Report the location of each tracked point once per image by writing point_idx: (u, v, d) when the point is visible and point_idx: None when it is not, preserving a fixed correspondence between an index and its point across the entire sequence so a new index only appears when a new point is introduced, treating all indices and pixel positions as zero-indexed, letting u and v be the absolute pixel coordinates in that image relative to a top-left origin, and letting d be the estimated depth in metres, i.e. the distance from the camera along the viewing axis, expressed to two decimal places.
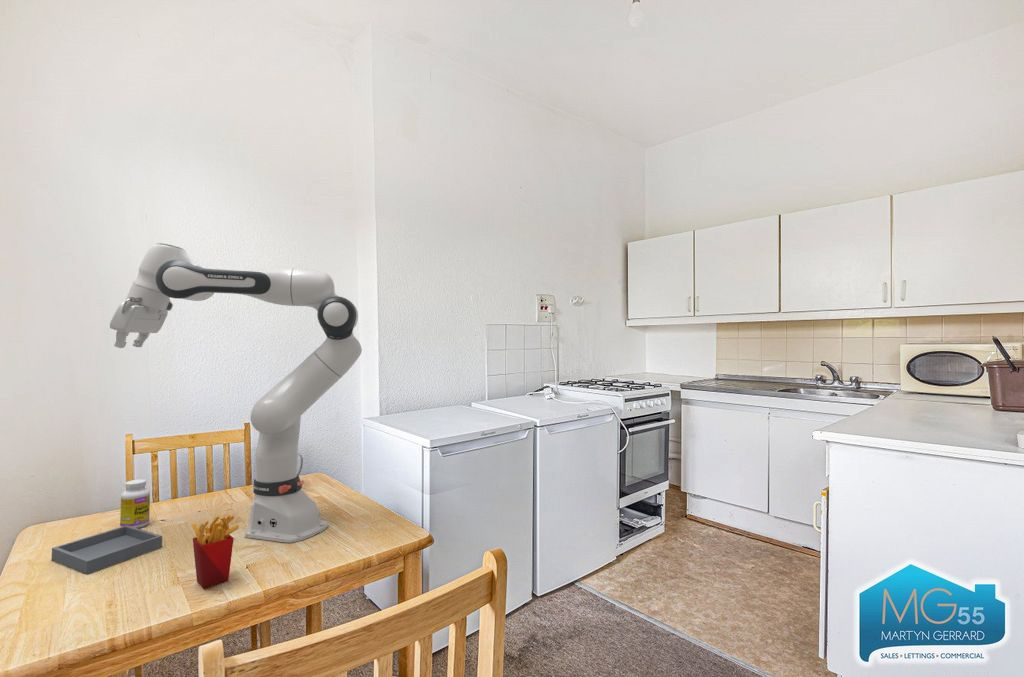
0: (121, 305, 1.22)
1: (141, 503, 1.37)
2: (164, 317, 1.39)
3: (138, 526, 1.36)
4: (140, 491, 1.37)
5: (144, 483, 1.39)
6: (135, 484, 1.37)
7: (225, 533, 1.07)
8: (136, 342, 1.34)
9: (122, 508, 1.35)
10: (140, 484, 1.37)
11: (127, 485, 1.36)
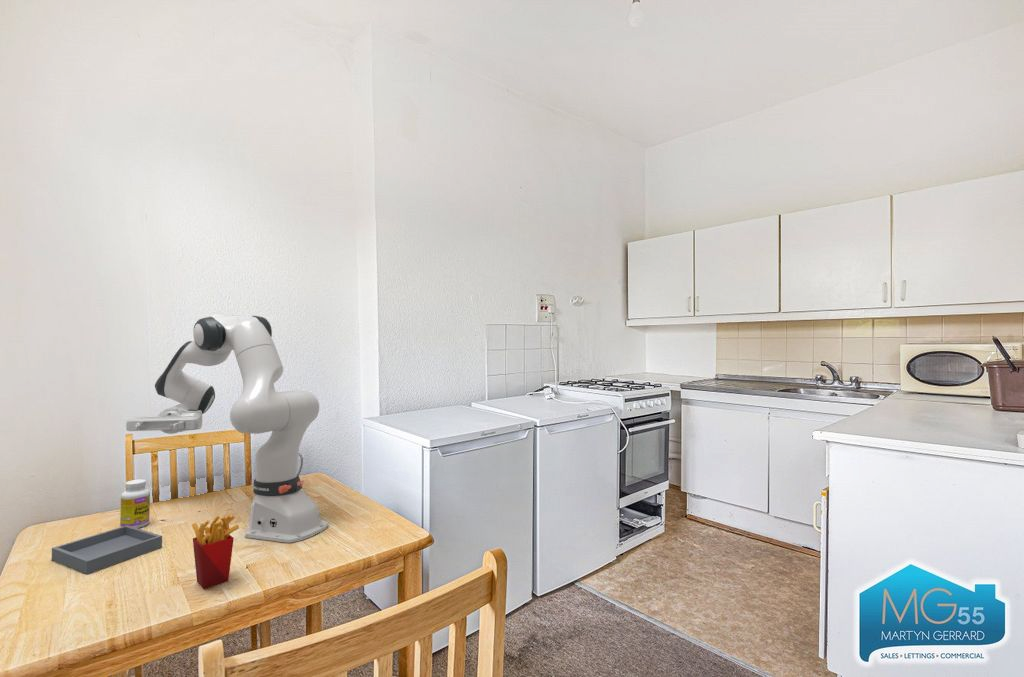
0: None
1: (141, 503, 1.37)
2: (196, 414, 1.62)
3: (138, 526, 1.36)
4: (140, 491, 1.37)
5: (144, 483, 1.39)
6: (135, 484, 1.37)
7: (225, 533, 1.07)
8: None
9: (122, 508, 1.35)
10: (140, 484, 1.37)
11: (127, 485, 1.36)
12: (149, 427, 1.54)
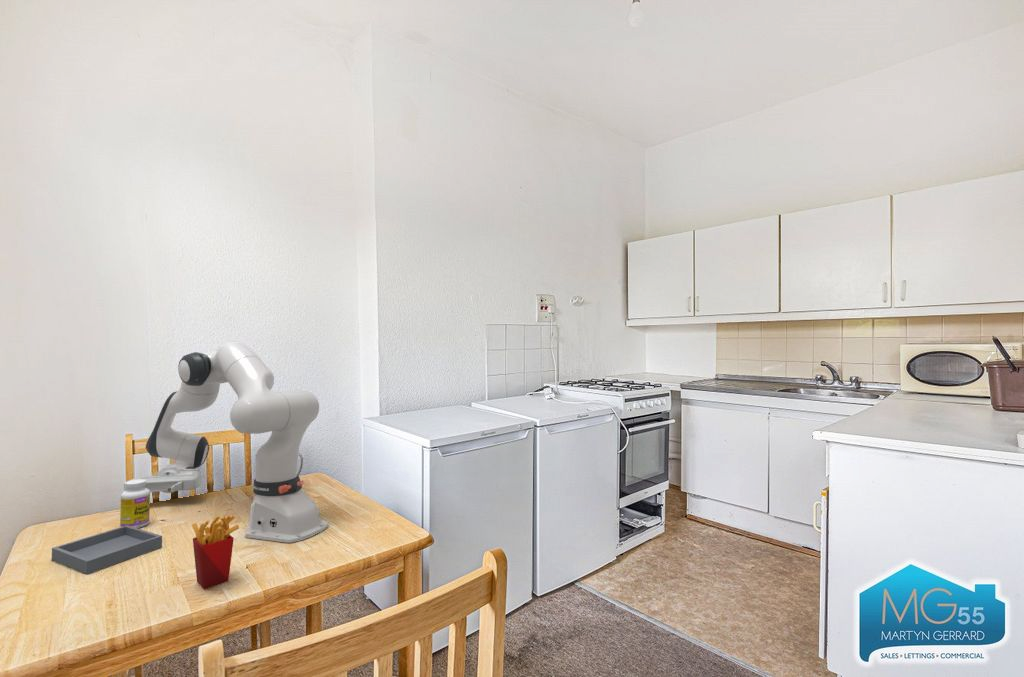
0: None
1: (141, 503, 1.37)
2: (195, 473, 1.60)
3: (138, 526, 1.36)
4: (140, 491, 1.37)
5: (144, 483, 1.39)
6: (135, 484, 1.37)
7: (225, 533, 1.07)
8: None
9: (122, 508, 1.35)
10: (140, 484, 1.37)
11: (127, 485, 1.36)
12: None
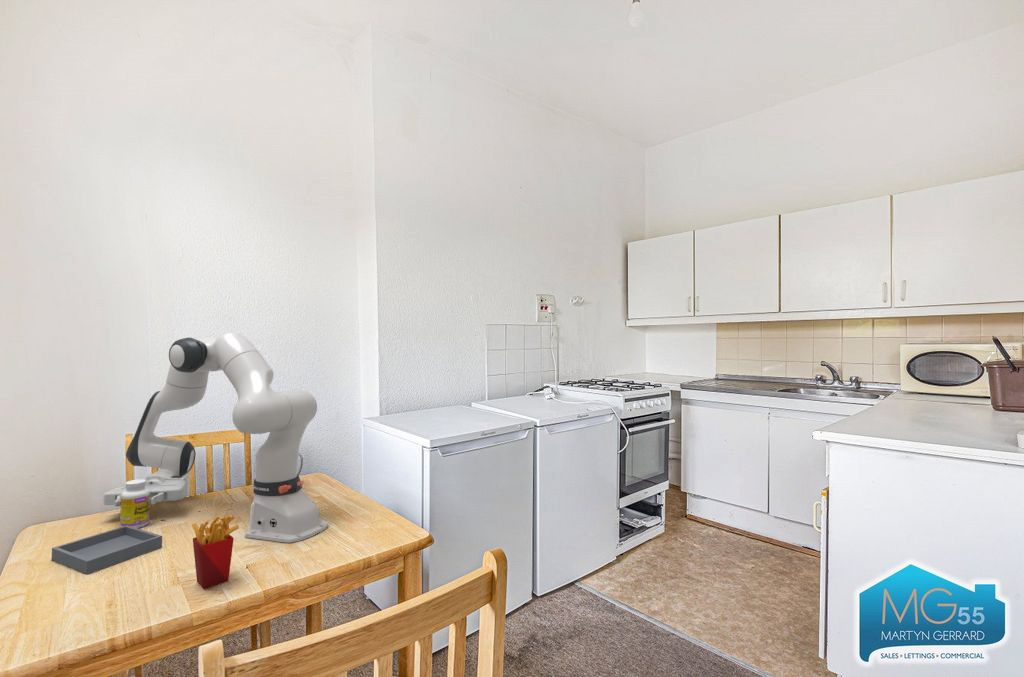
0: None
1: (141, 503, 1.37)
2: (180, 482, 1.49)
3: (138, 526, 1.36)
4: (140, 491, 1.37)
5: (144, 483, 1.39)
6: (135, 484, 1.37)
7: (225, 533, 1.07)
8: None
9: (122, 508, 1.35)
10: (140, 484, 1.37)
11: (127, 485, 1.36)
12: None
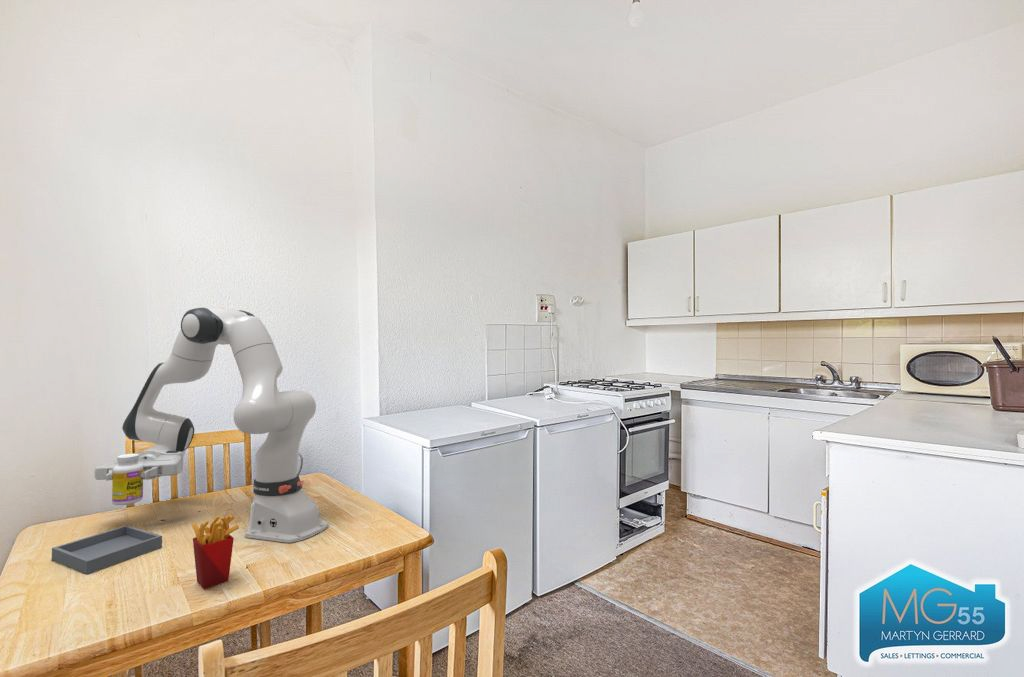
0: None
1: (134, 478, 1.30)
2: (176, 457, 1.42)
3: (131, 502, 1.30)
4: (133, 465, 1.31)
5: (137, 457, 1.32)
6: (127, 458, 1.30)
7: (225, 533, 1.07)
8: None
9: (114, 483, 1.29)
10: (132, 458, 1.31)
11: (119, 459, 1.30)
12: None
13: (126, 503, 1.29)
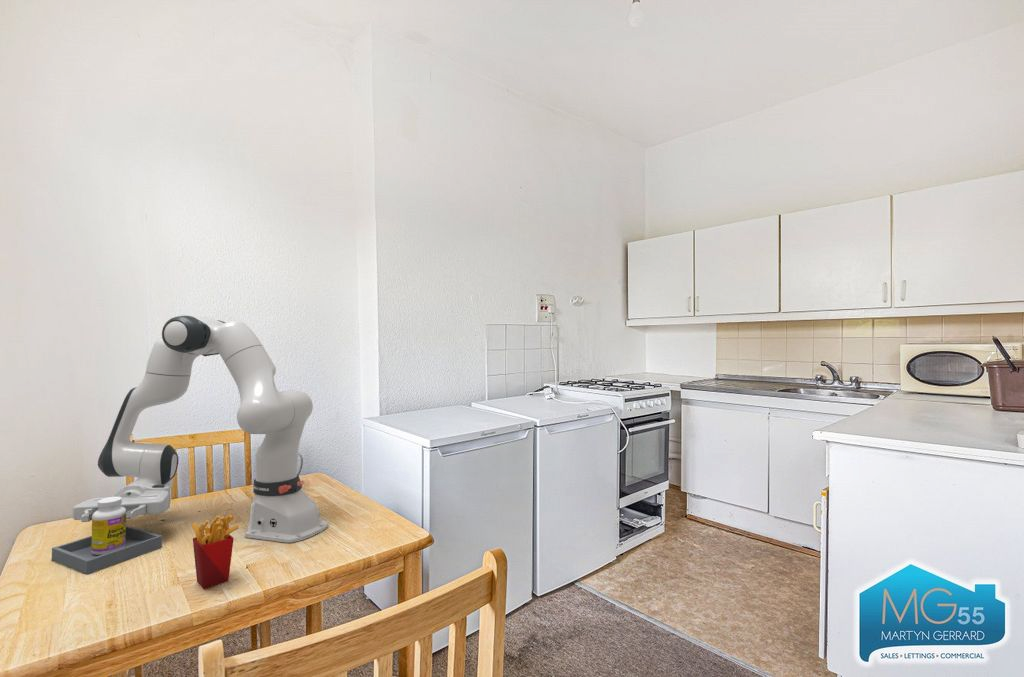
0: None
1: (115, 525, 1.19)
2: (162, 493, 1.31)
3: None
4: (114, 510, 1.20)
5: (119, 501, 1.21)
6: (108, 503, 1.19)
7: (225, 533, 1.07)
8: None
9: (93, 530, 1.18)
10: (114, 503, 1.20)
11: (99, 504, 1.19)
12: None
13: None
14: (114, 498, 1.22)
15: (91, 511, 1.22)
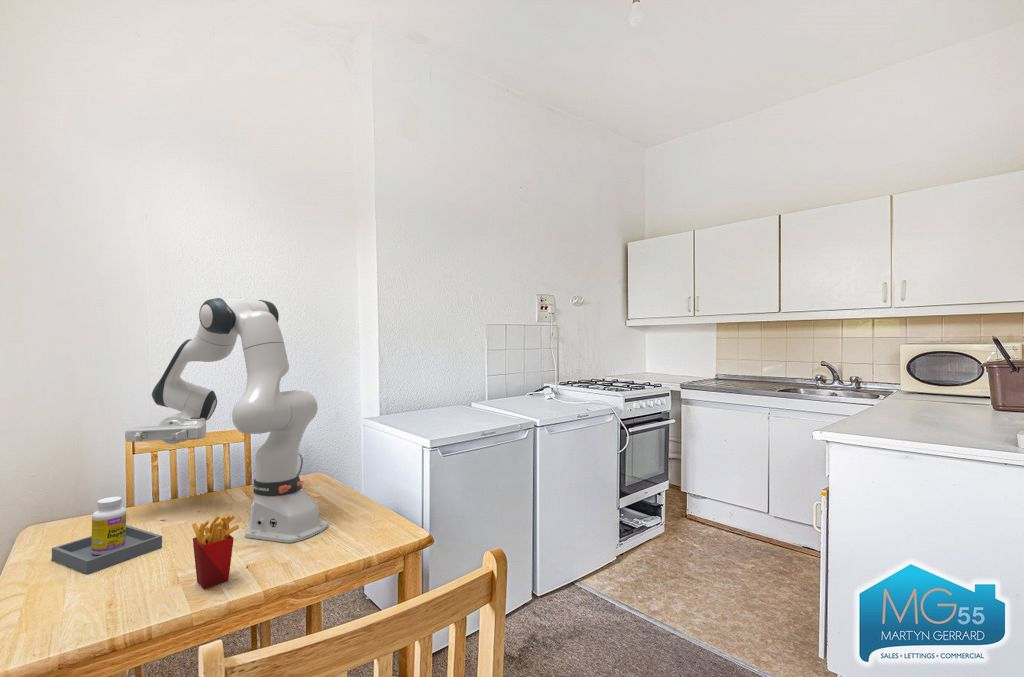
0: None
1: (115, 525, 1.19)
2: (200, 422, 1.52)
3: None
4: (114, 510, 1.20)
5: (119, 501, 1.21)
6: (108, 503, 1.19)
7: (225, 533, 1.07)
8: None
9: (93, 530, 1.18)
10: (114, 502, 1.20)
11: (99, 504, 1.19)
12: (149, 437, 1.44)
13: None
14: (114, 498, 1.22)
15: (141, 434, 1.42)
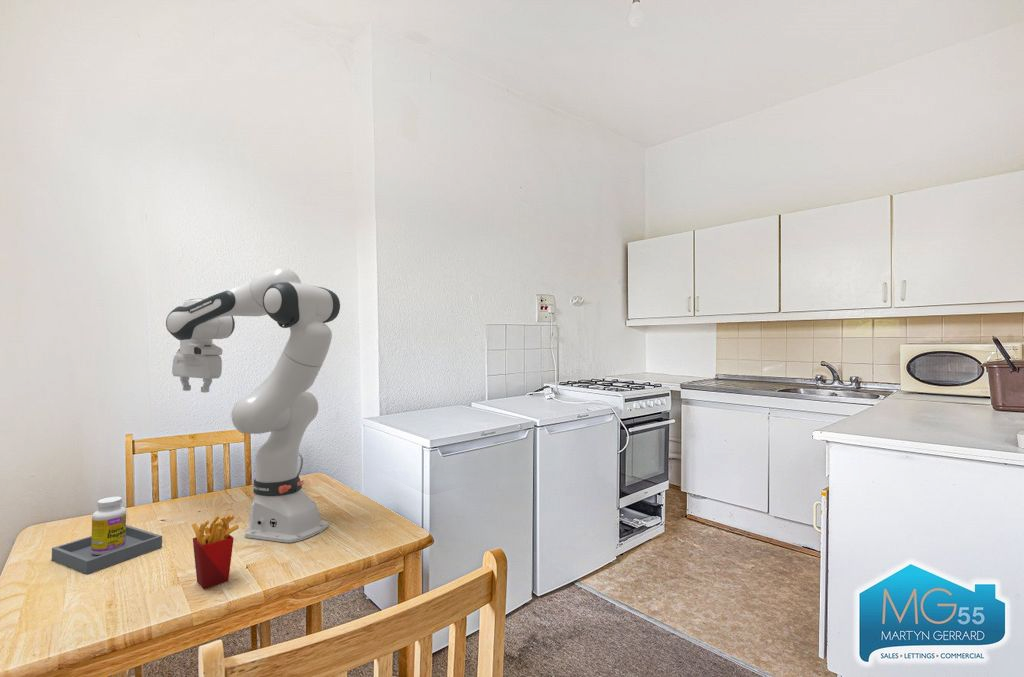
0: None
1: (115, 525, 1.19)
2: (205, 362, 1.50)
3: None
4: (114, 510, 1.20)
5: (119, 501, 1.21)
6: (108, 503, 1.19)
7: (225, 533, 1.07)
8: None
9: (93, 530, 1.18)
10: (114, 503, 1.20)
11: (99, 504, 1.19)
12: None
13: None
14: (114, 498, 1.22)
15: (184, 379, 1.57)
